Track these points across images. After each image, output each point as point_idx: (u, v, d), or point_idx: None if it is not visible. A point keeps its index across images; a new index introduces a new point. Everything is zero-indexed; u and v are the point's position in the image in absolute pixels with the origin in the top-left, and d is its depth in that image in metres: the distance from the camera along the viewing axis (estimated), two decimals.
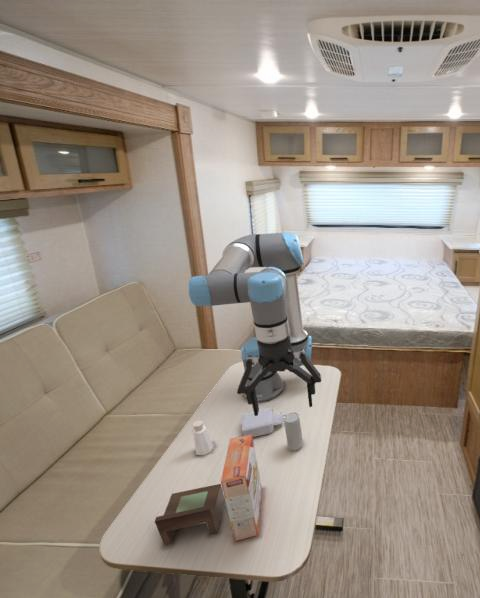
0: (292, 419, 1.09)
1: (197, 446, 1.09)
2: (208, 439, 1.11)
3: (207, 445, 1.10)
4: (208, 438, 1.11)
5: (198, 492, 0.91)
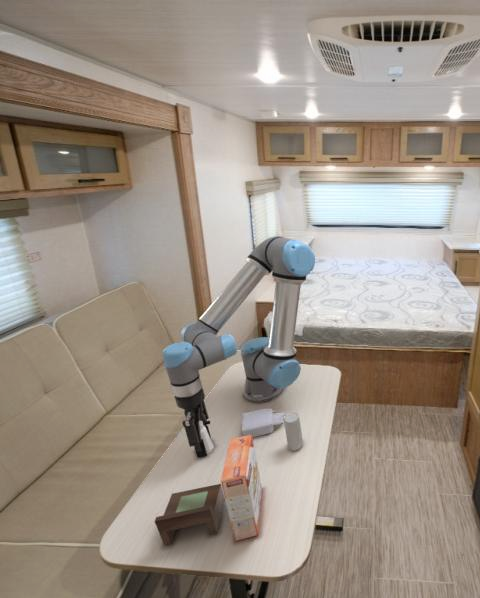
0: (292, 419, 1.09)
1: None
2: (208, 439, 1.11)
3: (207, 445, 1.10)
4: (208, 438, 1.11)
5: (198, 492, 0.91)
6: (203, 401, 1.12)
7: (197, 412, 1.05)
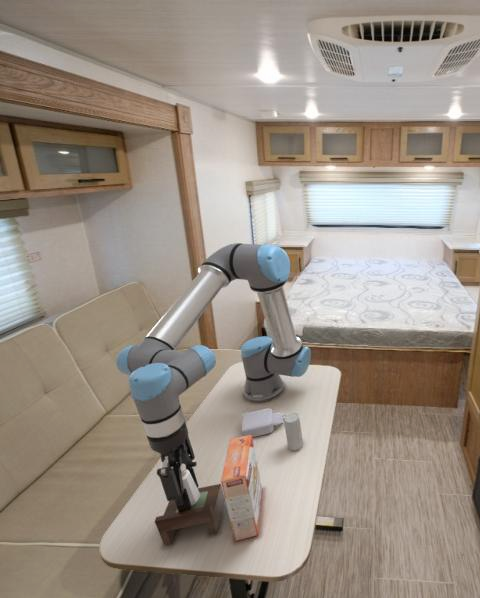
0: (292, 419, 1.09)
1: None
2: (193, 487, 0.85)
3: (192, 495, 0.85)
4: (193, 486, 0.86)
5: None
6: (187, 437, 0.87)
7: (178, 455, 0.80)
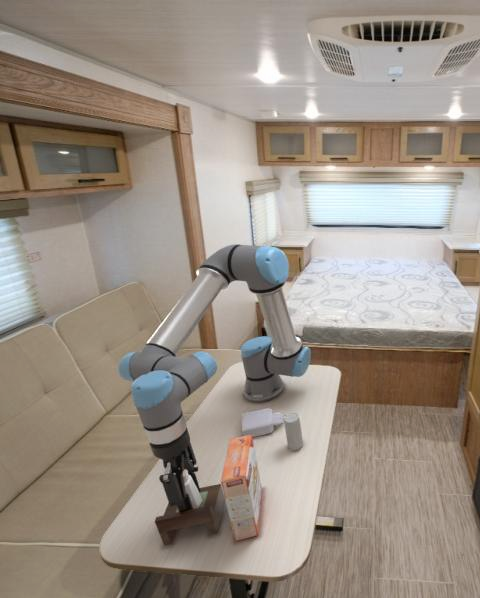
0: (292, 419, 1.09)
1: None
2: (195, 492, 0.86)
3: (194, 500, 0.86)
4: (195, 491, 0.86)
5: None
6: (189, 443, 0.88)
7: (180, 461, 0.80)
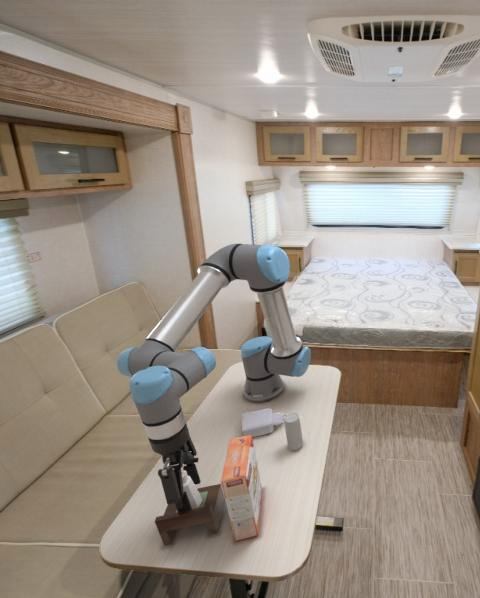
0: (292, 419, 1.09)
1: None
2: (195, 492, 0.86)
3: (194, 500, 0.86)
4: (195, 491, 0.86)
5: None
6: (188, 436, 0.88)
7: (179, 456, 0.80)
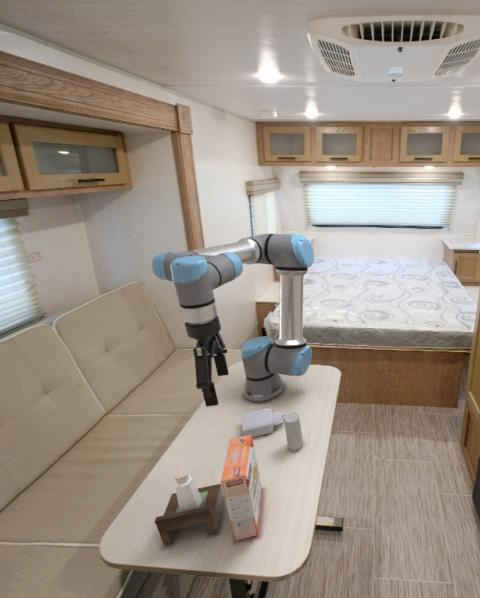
0: (292, 419, 1.09)
1: (181, 502, 0.85)
2: (195, 492, 0.86)
3: (194, 500, 0.86)
4: (195, 491, 0.86)
5: None
6: (218, 332, 0.94)
7: (211, 344, 0.86)
